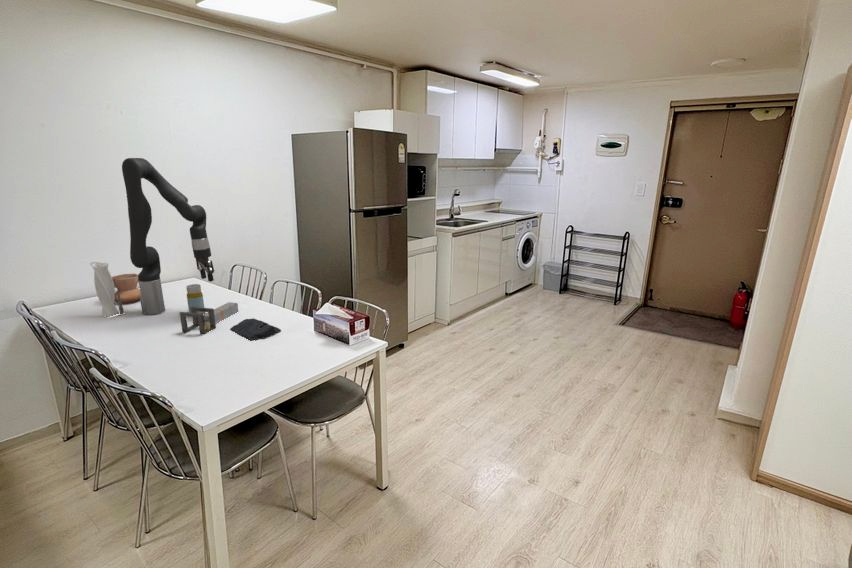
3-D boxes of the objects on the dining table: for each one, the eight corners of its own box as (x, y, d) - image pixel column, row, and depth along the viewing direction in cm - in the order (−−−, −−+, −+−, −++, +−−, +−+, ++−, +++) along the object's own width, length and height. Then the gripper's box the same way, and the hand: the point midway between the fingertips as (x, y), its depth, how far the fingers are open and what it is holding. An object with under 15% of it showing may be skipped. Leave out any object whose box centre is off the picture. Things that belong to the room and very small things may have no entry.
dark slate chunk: (258, 321, 213) (257, 312, 211) (283, 333, 199) (283, 323, 198) (227, 330, 201) (226, 320, 200) (252, 343, 188) (251, 333, 186)
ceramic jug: (142, 294, 249) (138, 270, 245) (151, 300, 239) (147, 275, 235) (105, 302, 236) (99, 276, 232) (112, 308, 226) (107, 282, 222)
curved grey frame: (182, 332, 197) (179, 312, 194) (195, 325, 205) (192, 306, 202) (204, 334, 195) (201, 314, 192) (216, 327, 203) (213, 308, 200)
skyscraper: (108, 319, 212) (97, 263, 204) (96, 317, 214) (85, 262, 206) (125, 314, 219) (115, 259, 212) (113, 312, 222) (102, 258, 214)
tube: (212, 326, 205) (211, 316, 203) (202, 325, 206) (201, 315, 204) (238, 312, 223) (237, 302, 222) (229, 311, 224) (228, 302, 223)
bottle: (208, 312, 222) (204, 284, 218) (199, 317, 216) (195, 288, 211) (195, 311, 223) (191, 283, 219) (186, 316, 216) (182, 287, 212)
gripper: (187, 247, 213) (194, 279, 217) (199, 250, 203) (205, 284, 208) (203, 244, 218) (209, 275, 223) (215, 247, 209) (221, 280, 213)
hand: (207, 279), depth 215 cm, fingers open, 8 cm apart
